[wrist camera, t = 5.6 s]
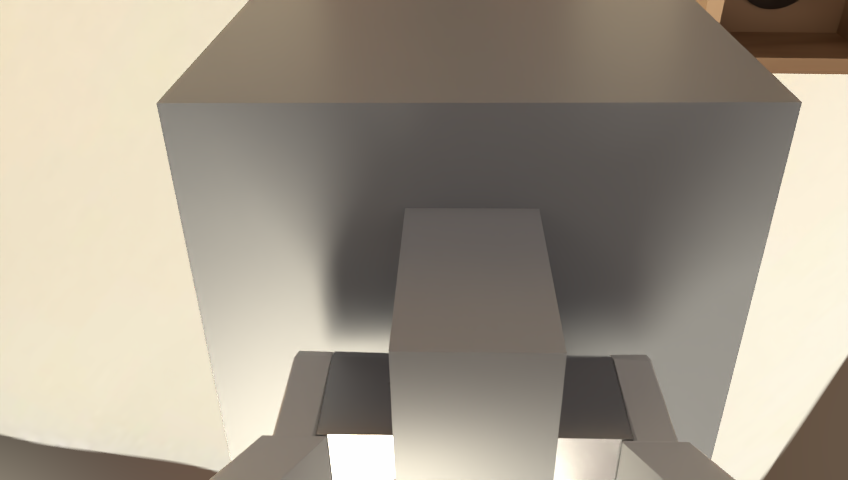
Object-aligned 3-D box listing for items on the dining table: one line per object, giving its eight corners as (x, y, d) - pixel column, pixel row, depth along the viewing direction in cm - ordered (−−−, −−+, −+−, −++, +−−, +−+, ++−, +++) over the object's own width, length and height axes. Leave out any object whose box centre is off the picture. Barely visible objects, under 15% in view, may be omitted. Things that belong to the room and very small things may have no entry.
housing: (260, -12, 15) (49, 222, 7) (679, -15, 15) (931, 225, 7) (300, 320, 19) (195, 693, 11) (627, 323, 19) (748, 708, 11)
